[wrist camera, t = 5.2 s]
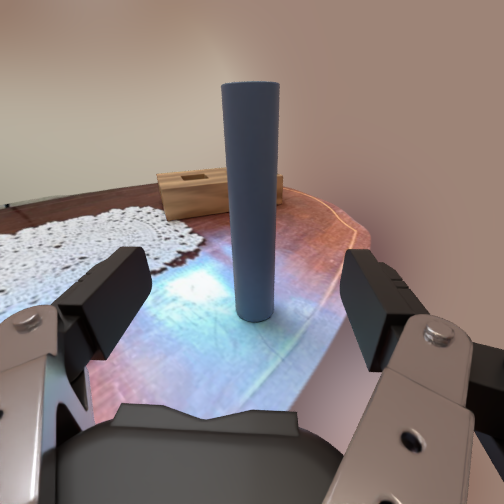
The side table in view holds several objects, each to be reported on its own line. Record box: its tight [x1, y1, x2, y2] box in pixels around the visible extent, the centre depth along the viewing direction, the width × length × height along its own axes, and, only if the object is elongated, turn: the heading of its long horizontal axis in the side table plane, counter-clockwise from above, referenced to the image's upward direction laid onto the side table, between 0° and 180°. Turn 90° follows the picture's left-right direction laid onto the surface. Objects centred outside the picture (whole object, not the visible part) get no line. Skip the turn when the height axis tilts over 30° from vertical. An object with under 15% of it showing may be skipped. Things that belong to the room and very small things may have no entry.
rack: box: [156, 167, 283, 221], centre depth 47 cm, size 12×20×5 cm, turn 111°
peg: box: [221, 81, 280, 322], centre depth 18 cm, size 3×3×16 cm
